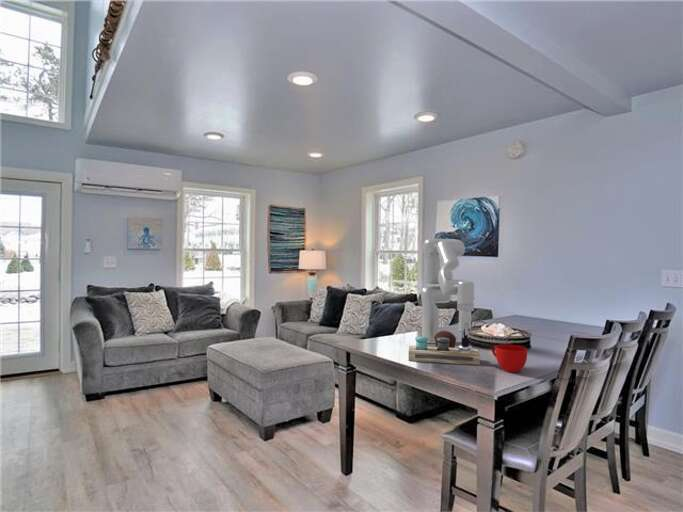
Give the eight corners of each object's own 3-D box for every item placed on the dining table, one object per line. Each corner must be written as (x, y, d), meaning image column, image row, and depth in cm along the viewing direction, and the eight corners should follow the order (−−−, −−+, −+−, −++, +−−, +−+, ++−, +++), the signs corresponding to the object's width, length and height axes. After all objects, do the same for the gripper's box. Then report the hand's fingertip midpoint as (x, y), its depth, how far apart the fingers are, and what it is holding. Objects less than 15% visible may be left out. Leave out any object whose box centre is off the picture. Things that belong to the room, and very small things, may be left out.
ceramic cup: (502, 363, 194) (502, 341, 194) (533, 372, 179) (534, 349, 179) (481, 366, 188) (482, 344, 188) (512, 376, 173) (513, 352, 173)
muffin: (460, 352, 214) (460, 333, 214) (440, 354, 211) (440, 334, 211) (449, 347, 225) (449, 329, 225) (430, 348, 222) (430, 329, 222)
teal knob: (415, 348, 204) (415, 336, 204) (427, 349, 203) (428, 336, 203) (415, 351, 198) (415, 338, 198) (428, 352, 197) (428, 339, 197)
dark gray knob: (436, 349, 202) (436, 337, 202) (449, 350, 201) (449, 337, 201) (436, 352, 196) (436, 339, 196) (449, 353, 195) (450, 340, 195)
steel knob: (457, 357, 200) (457, 344, 200) (470, 358, 199) (470, 345, 199) (458, 360, 194) (458, 347, 194) (472, 361, 193) (472, 347, 193)
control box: (409, 355, 207) (409, 345, 207) (476, 359, 201) (476, 348, 201) (408, 360, 197) (408, 350, 196) (479, 365, 190) (479, 354, 190)
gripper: (455, 305, 205) (455, 342, 205) (458, 308, 190) (458, 349, 190) (471, 305, 203) (471, 343, 203) (475, 309, 188) (475, 350, 189)
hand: (465, 346), depth 197 cm, fingers closed
